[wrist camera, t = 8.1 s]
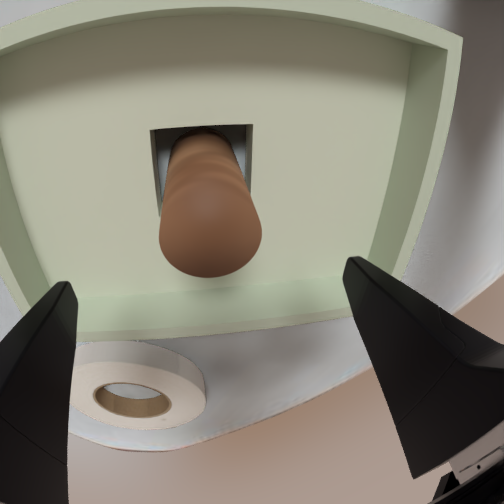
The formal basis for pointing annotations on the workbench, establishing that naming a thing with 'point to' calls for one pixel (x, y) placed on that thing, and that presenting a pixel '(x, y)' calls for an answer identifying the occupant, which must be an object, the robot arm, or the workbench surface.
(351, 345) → the workbench surface
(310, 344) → the workbench surface
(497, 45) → the workbench surface
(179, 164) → the peg
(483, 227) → the workbench surface
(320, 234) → the box
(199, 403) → the roll of tape
